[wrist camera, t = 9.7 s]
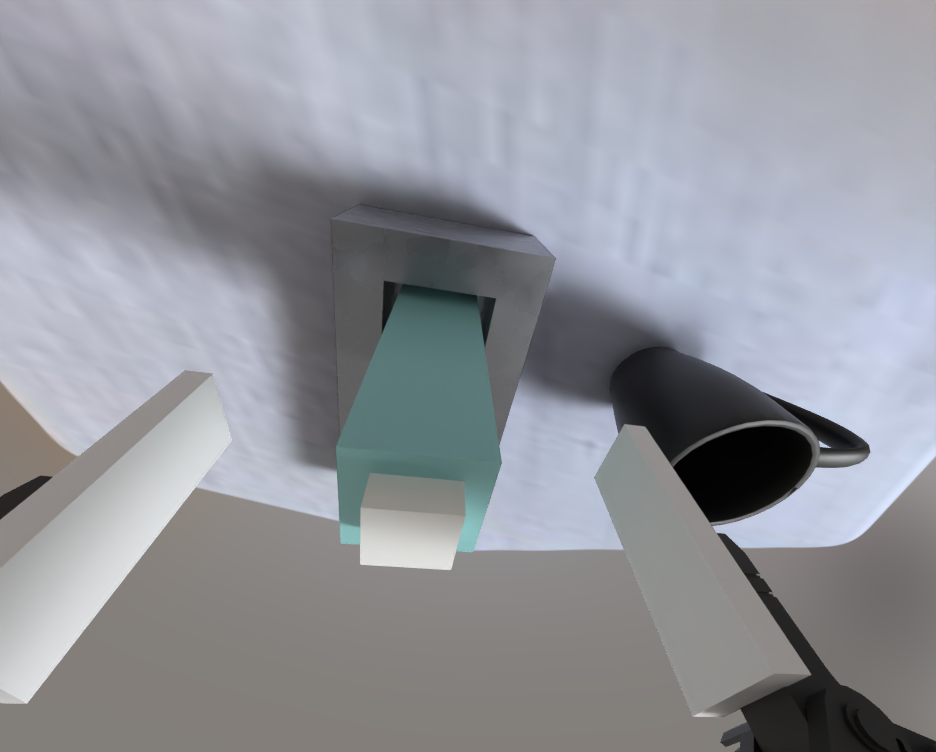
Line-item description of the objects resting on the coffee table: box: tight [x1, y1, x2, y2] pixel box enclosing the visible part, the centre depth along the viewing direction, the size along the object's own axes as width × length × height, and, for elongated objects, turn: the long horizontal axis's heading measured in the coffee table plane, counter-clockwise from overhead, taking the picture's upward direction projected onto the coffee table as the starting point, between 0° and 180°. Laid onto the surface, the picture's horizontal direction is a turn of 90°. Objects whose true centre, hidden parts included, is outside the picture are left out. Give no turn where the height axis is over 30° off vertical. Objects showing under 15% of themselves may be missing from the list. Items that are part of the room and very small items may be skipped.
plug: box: [336, 284, 502, 570], centre depth 15 cm, size 4×4×15 cm
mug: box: [610, 347, 870, 526], centre depth 22 cm, size 8×12×10 cm
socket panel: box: [331, 205, 556, 444], centre depth 23 cm, size 22×10×5 cm, turn 170°
